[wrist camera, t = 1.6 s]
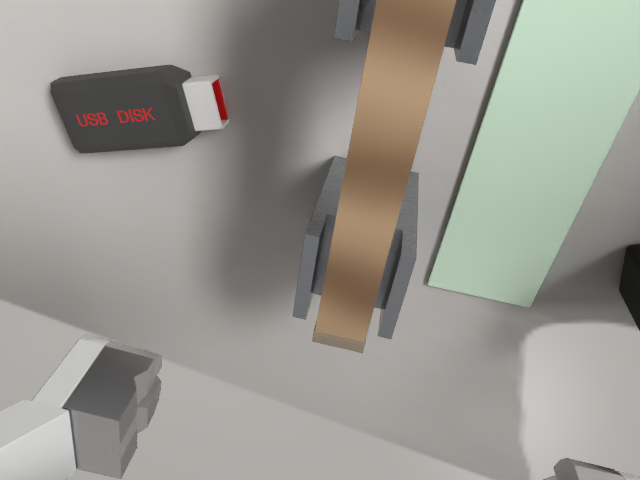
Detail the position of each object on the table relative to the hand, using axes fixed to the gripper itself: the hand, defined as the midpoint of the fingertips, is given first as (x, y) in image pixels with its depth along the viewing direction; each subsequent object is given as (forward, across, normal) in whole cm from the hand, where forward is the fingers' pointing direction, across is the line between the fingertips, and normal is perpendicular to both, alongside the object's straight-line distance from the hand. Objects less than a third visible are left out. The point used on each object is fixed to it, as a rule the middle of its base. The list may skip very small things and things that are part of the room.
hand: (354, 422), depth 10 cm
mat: (+26, -10, +1) cm, 28 cm away
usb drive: (+27, +16, +6) cm, 32 cm away
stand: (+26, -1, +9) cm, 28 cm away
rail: (+18, 0, +1) cm, 18 cm away
